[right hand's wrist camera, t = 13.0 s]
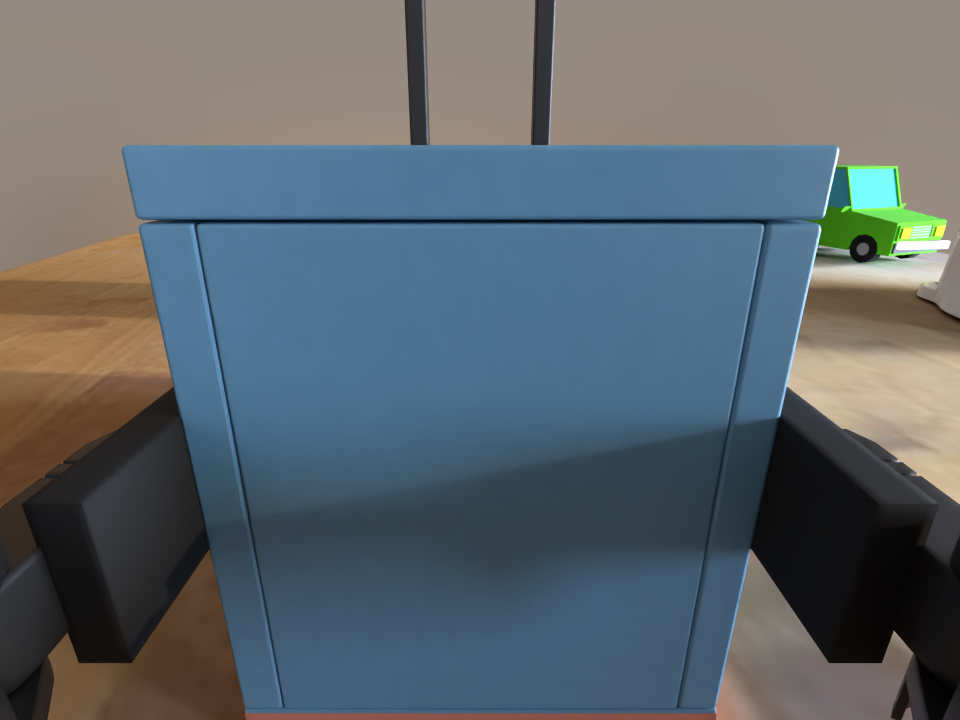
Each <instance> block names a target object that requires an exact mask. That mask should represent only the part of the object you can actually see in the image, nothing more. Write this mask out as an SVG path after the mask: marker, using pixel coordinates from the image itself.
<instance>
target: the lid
mask: <svg viewBox="0 0 960 720" xmlns="http://www.w3.org/2000/svg"><path fill="white" fill-rule="evenodd" d="M555 10H556V0H535V30H534V62H533V95H532V127H531V145H430V140H429V108H428V75H427V43H426V11H425V0H405V20H406V43H407V67H408V90H409V114H410V137H411V145H126V146H124V147H122V155H123V160H124V164H125V169H126V173H127V178H128V182H129V187H130V191H131V196H132V200H133V205H134V209H135V214H136V216H137V218H139V219H142V220H819V219H821V218H823V217H824V216H825V213H826V208H827V204H828V199H829V195H830V190H831V186H832V181H833V176H834V172H835V167H836V163H837V158H838V154H839V147H837V146H835V145H550V128H551V104H552V81H553V57H554V34H555Z"/></svg>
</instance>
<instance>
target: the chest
mask: <svg viewBox="0 0 960 720" xmlns="http://www.w3.org/2000/svg"><path fill="white" fill-rule="evenodd" d="M139 232H140V236H141V241H142V245H143V250H144V254H145V259H146V264H147V268H148V273H149V277H150V282H151V286H152V291H153V295H154V300H155V304H156V309H157V313H158V318H159V322H160V327H161V331H162V336H163V340H164V345H165V350H166V354H167V359H168V363H169V368H170V372H171V377H172V381H173V386H174V390H175V395H176V399H177V404H178V408H179V413H180V417H181V422H182V426H183V431H184V435H185V440H186V444H187V449H188V453H189V458H190V462H191V467H192V471H193V476H194V481H195V485H196V490H197V494H198V499H199V503H200V508H201V512H202V517H203V521H204V526H205V530H206V535H207V539H208V544H209V549H210V553H211V558H212V562H213V567H214V571H215V576H216V580H217V585H218V589H219V594H220V598H221V603H222V607H223V612H224V617H225V621H226V626H227V630H228V635H229V639H230V644H231V648H232V653H233V657H234V662H235V666H236V671H237V675H238V680H239V684H240V689H241V693H242V698H243V703H244V706H245V712H244V717H245V720H716V716H717V713H716V708H715V706H716V704H717V700H718V695H719V691H720V686H721V682H722V677H723V673H724V668H725V663H726V659H727V654H728V650H729V645H730V641H731V636H732V632H733V627H734V623H735V618H736V614H737V609H738V605H739V600H740V596H741V591H742V586H743V582H744V577H745V573H746V568H747V564H748V559H749V555H750V550H751V546H752V541H753V537H754V532H755V528H756V523H757V518H758V514H759V509H760V505H761V500H762V496H763V491H764V487H765V482H766V478H767V473H768V469H769V464H770V460H771V455H772V451H773V446H774V441H775V437H776V432H777V428H778V423H779V419H780V414H781V410H782V405H783V401H784V396H785V392H786V387H787V383H788V378H789V373H790V369H791V364H792V360H793V355H794V351H795V346H796V342H797V337H798V333H799V328H800V324H801V319H802V315H803V310H804V306H805V301H806V296H807V292H808V287H809V283H810V278H811V274H812V269H813V265H814V260H815V256H816V251H817V247H818V242H819V238H820V233H821V226H820V225H818V224H816V223H812V222H808V221H803V220H157V221H153V222H148V223H143V224H141V225H140V226H139Z"/></svg>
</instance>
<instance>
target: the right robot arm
mask: <svg viewBox="0 0 960 720" xmlns="http://www.w3.org/2000/svg"><path fill="white" fill-rule="evenodd" d="M751 549H752V550H753V552H754V553H755V555H756V556H757V558H758V559H759V561H760V562H761V564H762V565H763V567H764V568H765V570H766V571H767V573H768V574H769V575H770V577H771V578H772V580H773V581H774V583H775V584H776V586H777V587H778V589H779V590H780V592H781V593H782V595H783V596H784V598H785V599H786V600H787V602H788V603H789V605H790V606H791V608H792V609H793V611H794V612H795V614H796V615H797V617H798V618H799V620H800V621H801V623H802V624H803V625H804V627H805V628H806V630H807V631H808V633H809V634H810V636H811V637H812V639H813V640H814V642H815V643H816V645H817V646H818V648H819V649H820V650H821V652H822V653H823V655H824V656H825V658H826V659H827V661H828V662H829V663H882V661H883V658H884V656H885V653H886V650H887V647H888V645H889V642H890V639H891V636H892V634H893V631H895V632H896V633H897V634H898V636H899V637H900V638H901V639H902V640H903V641H904V642H905V644H906V645H907V646H908V647H909V648H910V649H911V651H912V652H913V655H912V658H911V661H910V663H909V666H908V668H907V671H906V673H905V676H904V679H903V681H902V684H901V686H900V689H899V691H898V694H897V697H896V699H895V702H894V704H893V708H892V714H891V718H893V719H895V720H901V719H902V717H903V714H904V712H905V709H907V708H909V707H911V711H912V717H913V720H960V505H959V504H958V503H957V502H955V501H954V500H953V499H951V498H950V497H949V496H947V495H946V494H945V493H943V492H942V491H940V490H939V489H938V488H936V487H935V486H934V485H932V484H931V483H930V482H928V481H927V480H926V479H924V478H923V477H922V476H917V475H916V472H915V471H913V470H912V469H911V468H909V467H908V466H907V465H905V464H904V463H903V462H898V459H897V458H896V457H894V456H893V455H892V454H890V453H889V452H888V451H886V450H885V449H884V448H882V447H881V446H880V445H878V444H877V443H875V442H873V441H871V440H869V439H867V438H864V437H862V436H860V435H858V434H856V433H854V432H852V431H849V430H847V429H841V428H840V427H839V426H837V425H836V424H835V423H833V422H832V421H831V420H830V419H828V418H827V417H826V416H824V415H823V414H822V413H820V412H819V411H818V410H817V409H815V408H814V407H813V406H811V405H810V404H809V403H807V402H806V401H805V400H804V399H802V398H801V397H800V396H798V395H797V394H796V393H794V392H793V391H792V390H791V389H789V388H788V387H786V392H785V396H784V401H783V405H782V410H781V414H780V419H779V423H778V428H777V432H776V437H775V441H774V446H773V451H772V455H771V460H770V464H769V469H768V473H767V478H766V482H765V487H764V491H763V496H762V500H761V505H760V509H759V514H758V518H757V523H756V528H755V532H754V537H753V541H752V546H751ZM208 550H209V544H208V539H207V535H206V530H205V526H204V521H203V517H202V512H201V508H200V503H199V499H198V494H197V490H196V485H195V481H194V476H193V471H192V467H191V462H190V458H189V453H188V449H187V444H186V440H185V435H184V431H183V426H182V422H181V417H180V413H179V408H178V404H177V399H176V395H175V390H174V387H173V388H171V389H170V390H169V391H168V392H166V393H165V394H164V395H162V396H161V397H160V398H158V399H157V400H156V401H155V402H153V403H152V404H151V405H149V406H148V407H147V408H145V409H144V410H143V411H142V412H140V413H139V414H138V415H136V416H135V417H134V418H132V419H131V420H130V421H129V422H127V423H126V424H125V425H123V426H122V427H121V428H119V429H118V430H117V431H114V432H112V433H109V434H107V435H105V436H103V437H101V438H99V439H97V440H95V441H92V442H90V443H88V444H86V445H84V446H83V447H82V448H80V449H79V450H78V451H76V452H75V453H74V454H72V455H71V456H70V457H68V458H67V459H66V460H64V463H63V464H59V465H58V466H56V467H55V468H54V469H52V470H51V471H50V472H48V473H47V474H46V475H45V478H40V479H39V480H37V481H36V482H35V483H33V484H32V485H31V486H29V487H28V488H27V489H25V490H24V491H23V492H21V493H20V494H19V495H17V496H16V497H15V498H13V499H12V500H11V501H9V502H8V503H7V504H5V505H4V506H3V507H1V508H0V720H47V719H48V713H49V707H50V701H51V695H52V689H53V684H54V675H53V669H52V666H51V663H50V661H49V658H48V655H49V653H50V652H51V651H52V650H53V649H54V648H55V646H56V645H57V644H58V643H59V642H60V641H61V639H62V638H63V637H64V636H65V635H66V634H67V632H68V634H69V637H70V640H71V642H72V645H73V648H74V651H75V653H76V656H77V659H78V662H79V663H132V662H133V660H134V659H135V657H136V656H137V654H138V653H139V651H140V650H141V648H142V647H143V645H144V644H145V643H146V641H147V640H148V638H149V637H150V635H151V634H152V632H153V631H154V629H155V628H156V626H157V625H158V623H159V622H160V620H161V619H162V618H163V616H164V615H165V613H166V612H167V610H168V609H169V607H170V606H171V604H172V603H173V601H174V600H175V598H176V597H177V595H178V594H179V593H180V591H181V590H182V588H183V587H184V585H185V584H186V582H187V581H188V579H189V578H190V576H191V575H192V573H193V572H194V570H195V569H196V568H197V566H198V565H199V563H200V562H201V560H202V559H203V557H204V556H205V554H206V553H207V551H208Z"/></svg>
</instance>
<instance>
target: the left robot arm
mask: <svg viewBox="0 0 960 720" xmlns="http://www.w3.org/2000/svg"><path fill="white" fill-rule="evenodd" d="M949 243H950V241H917V242H898V245H897V249H899V250H902V249H946V248H948V247H949ZM917 295H918V296H919V297H922V298H924V299H927V300H929V301H932V302H934V303H936V304H937V305H938V306H939V307H940V308H941V309H942V310H943V311H945V312H947V313H949V314H951V315H953V316H955V317H958V318H960V230H959V233H958V235H957V238H956V240H955V243H954V245H953V248H952V250H951V253H950V255H949V258H948V261H947V263H946V266H945V268H944V271H943V273H942V276H941V278H940V281H939V282H933V283H923V284H921V285H920V288H919V290H918V292H917Z"/></svg>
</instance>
